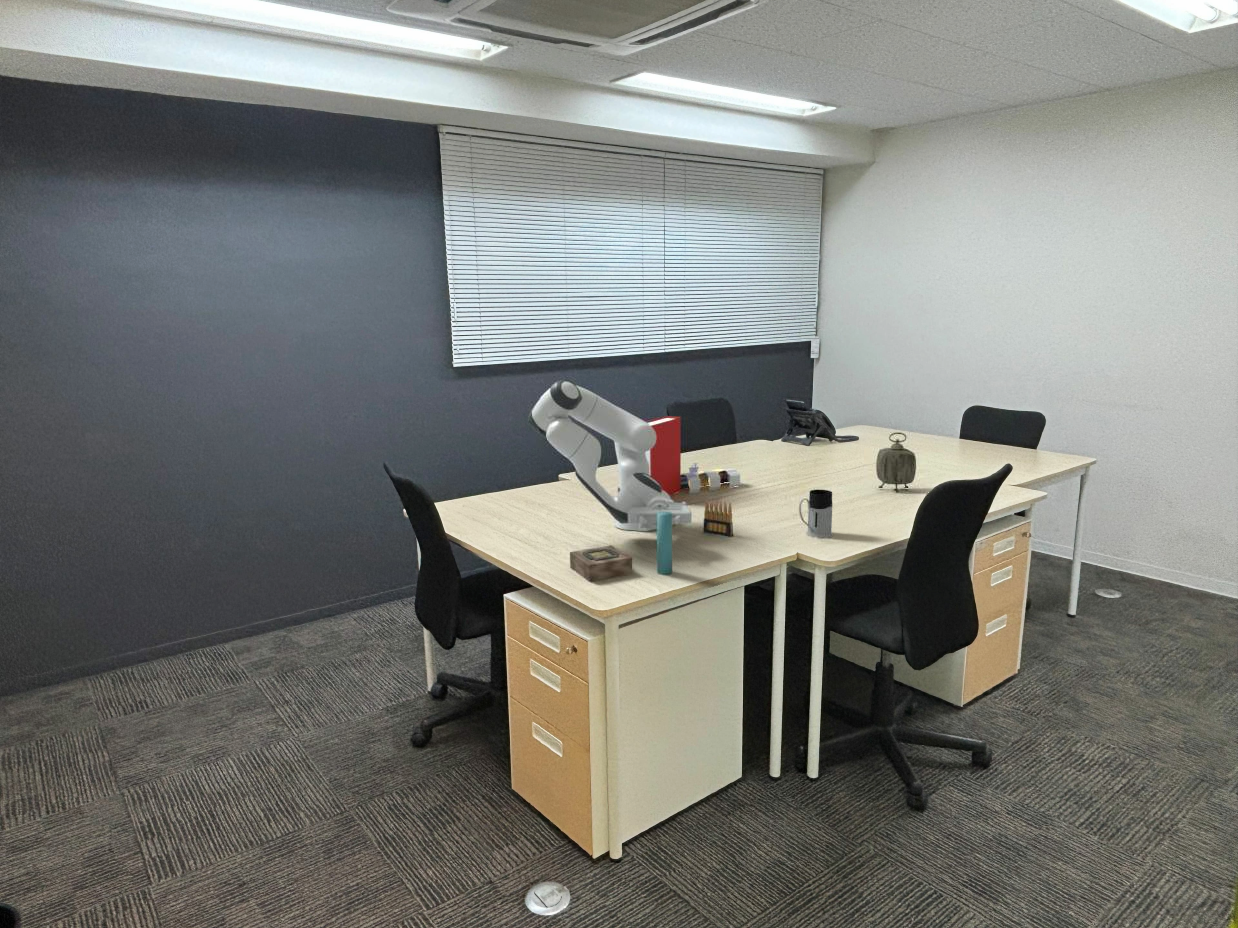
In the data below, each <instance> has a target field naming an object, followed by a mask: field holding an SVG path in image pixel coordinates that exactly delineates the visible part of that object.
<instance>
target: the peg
mask: <svg viewBox="0 0 1238 928" xmlns="http://www.w3.org/2000/svg"><path fill="white" fill-rule="evenodd" d="M656 548H657V549H656V555H657V556H656V558H657V559H656V560H657V561H656V565H657V566H656V568H657V569H656V571H657V572H656V573H657V574H658V575H663V576H665V575H671V574H672V573H673V525H672V513H671V512H658V513H657V529H656Z"/></svg>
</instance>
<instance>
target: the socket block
mask: <svg viewBox="0 0 1238 928" xmlns="http://www.w3.org/2000/svg"><path fill="white" fill-rule="evenodd" d="M600 551H606V552H608V553H609V554H611V556H605V557H599V558H595V557H593V556H592V555H590V554H589V553H594V552H600ZM569 567H570V569H571V570H572V571H574V572H575V571H576V573H577V574H579V575H580V576H581V577H582V576H583V577H582V578H584V579H585V578H586V579H587V580H586V579H585V580H586V581H588V582H589V581H590V582H595V581H594V580H596V581H600V580H604V579H605V580H606V579H612V578H617V577H622V576H628V575H633V557H632V556H630V555H628V554H627V553H625V552H623V551H622V550H620V549H619V548H616V547H615V546H613V545H604V546H599V547H593V548H587V549H586V548H585V549H580V550H574V551H570V552H569ZM611 577H612V578H611Z"/></svg>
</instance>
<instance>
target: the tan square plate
mask: <svg viewBox="0 0 1238 928" xmlns="http://www.w3.org/2000/svg"><path fill="white" fill-rule="evenodd" d="M589 554H590V555H592V556H593V557H595V558H599V557H605V556H611V554H609V553H608V552H606V551H600V552H594V553H589Z"/></svg>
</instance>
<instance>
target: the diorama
mask: <svg viewBox="0 0 1238 928" xmlns="http://www.w3.org/2000/svg"><path fill="white" fill-rule="evenodd" d="M698 469H699V466H698V463H697V462H695V463H694V464H693V465H692V466H691V467H688V470H689V472H684V473H683V472H682V473H681V489H682V490H686V489H685V488H690V489H688V494H693V493H692V492H697V493H700V491H701V487H700V486H706V487H708V486H707V485H710V486H709V489H708V491H709V490H713V491H716V490H715V489H719V490H720V488H721V485H720V483H724V482H730V484H729V486H728V488H729V487H734V486H740V485H741V474H740V472H739V471H737V470H738V469H736V468H733V467H729V468H720V469H719V468H718V469H712V470H711V469H709V470H702V471H700V470H699V471H698Z"/></svg>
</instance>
